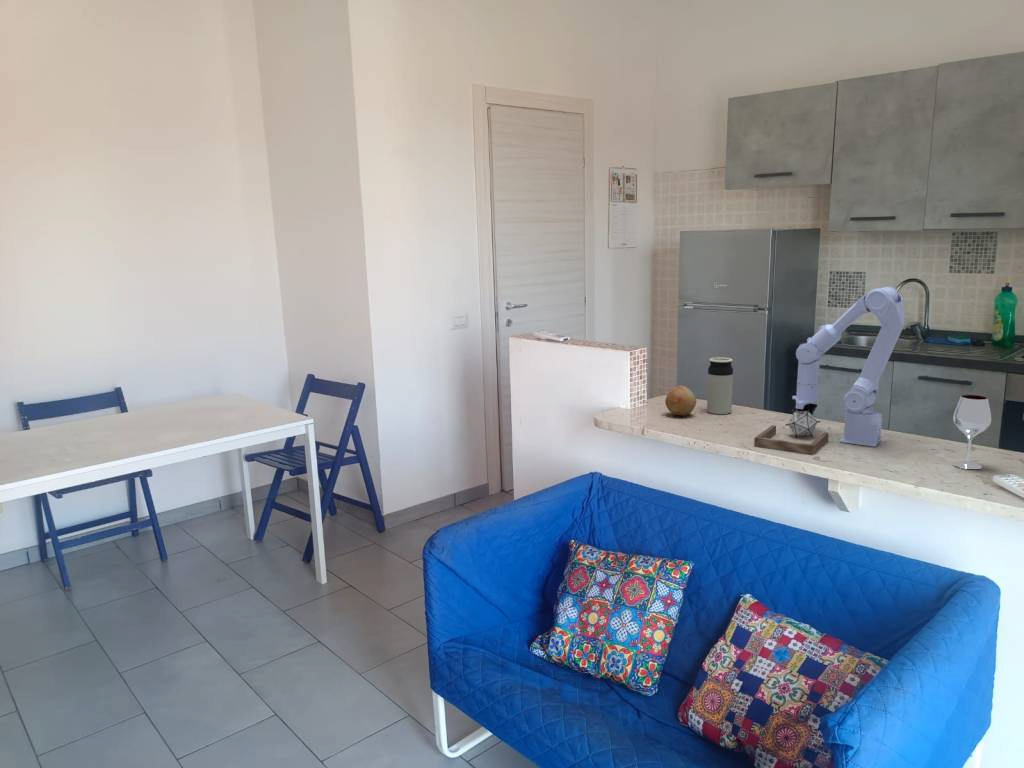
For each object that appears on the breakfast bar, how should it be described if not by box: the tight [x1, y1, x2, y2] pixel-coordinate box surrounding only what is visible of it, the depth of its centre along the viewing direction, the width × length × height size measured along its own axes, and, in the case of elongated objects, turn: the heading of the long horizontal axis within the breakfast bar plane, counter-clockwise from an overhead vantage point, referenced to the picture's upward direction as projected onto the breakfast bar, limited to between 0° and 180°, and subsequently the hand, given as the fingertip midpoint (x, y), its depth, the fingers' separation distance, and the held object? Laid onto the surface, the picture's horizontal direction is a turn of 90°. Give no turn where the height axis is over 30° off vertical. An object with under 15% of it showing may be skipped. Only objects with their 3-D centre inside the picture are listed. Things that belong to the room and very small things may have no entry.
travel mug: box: [706, 356, 734, 415], centre depth 252 cm, size 8×8×18 cm
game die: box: [785, 409, 821, 439], centre depth 222 cm, size 9×8×10 cm
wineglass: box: [952, 394, 992, 470], centre depth 190 cm, size 8×8×18 cm
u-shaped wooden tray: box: [753, 425, 830, 456], centre depth 215 cm, size 16×16×2 cm
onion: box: [664, 385, 697, 417], centre depth 249 cm, size 10×10×10 cm
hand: (804, 427), depth 226 cm, fingers closed
